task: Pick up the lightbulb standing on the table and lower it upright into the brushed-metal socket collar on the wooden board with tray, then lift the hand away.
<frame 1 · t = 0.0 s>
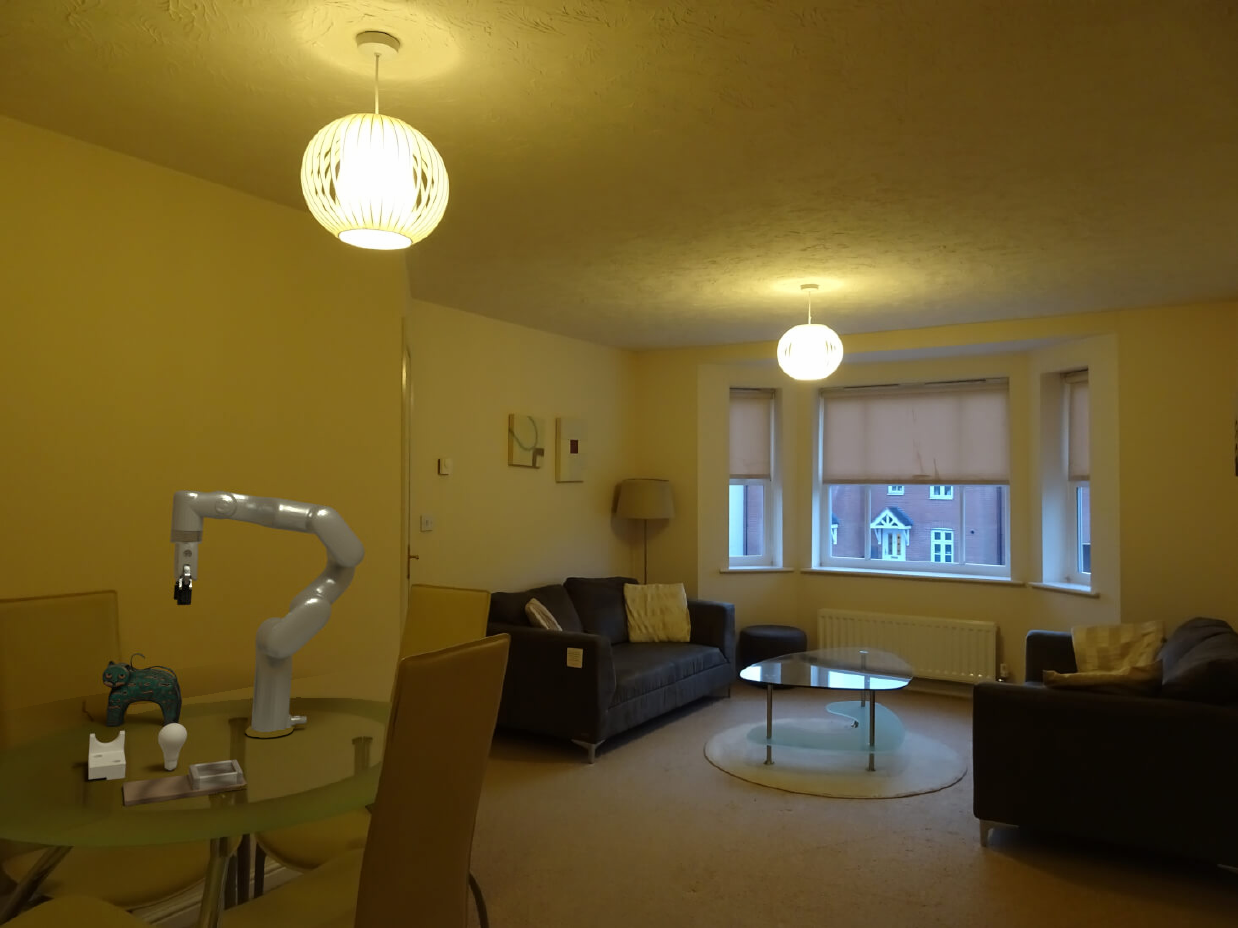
hand: (182, 602, 219), 37 cm above the table, tool pointing down, fingers open, 9 cm apart
bracket: (105, 773, 196), on the table
ceramic cat: (141, 725, 231), on the table
wooden board with tray: (185, 788, 188), on the table
lightbulb: (170, 770, 198), on the table
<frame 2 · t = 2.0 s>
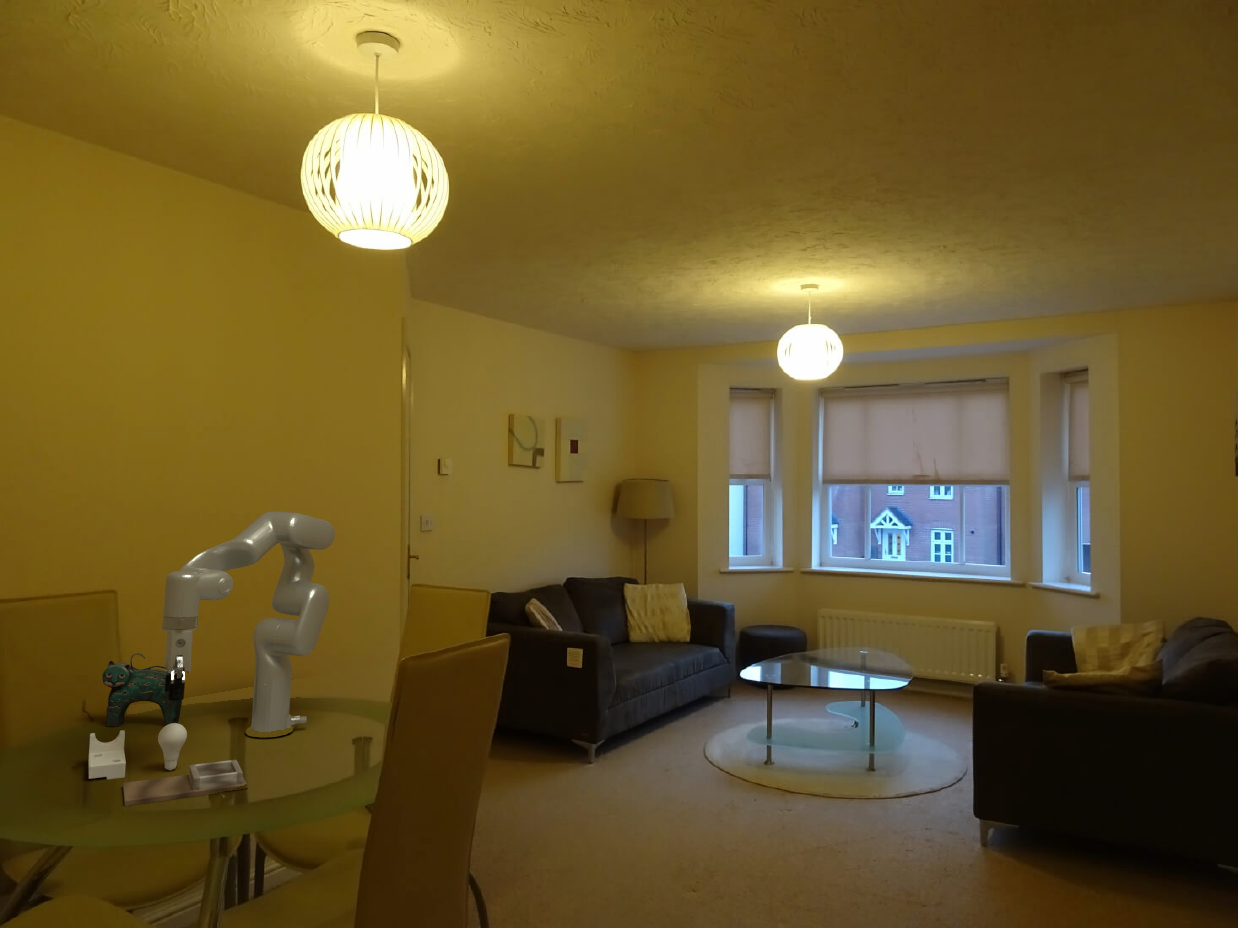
hand: (173, 695, 198), 18 cm above the table, tool pointing down, fingers open, 9 cm apart
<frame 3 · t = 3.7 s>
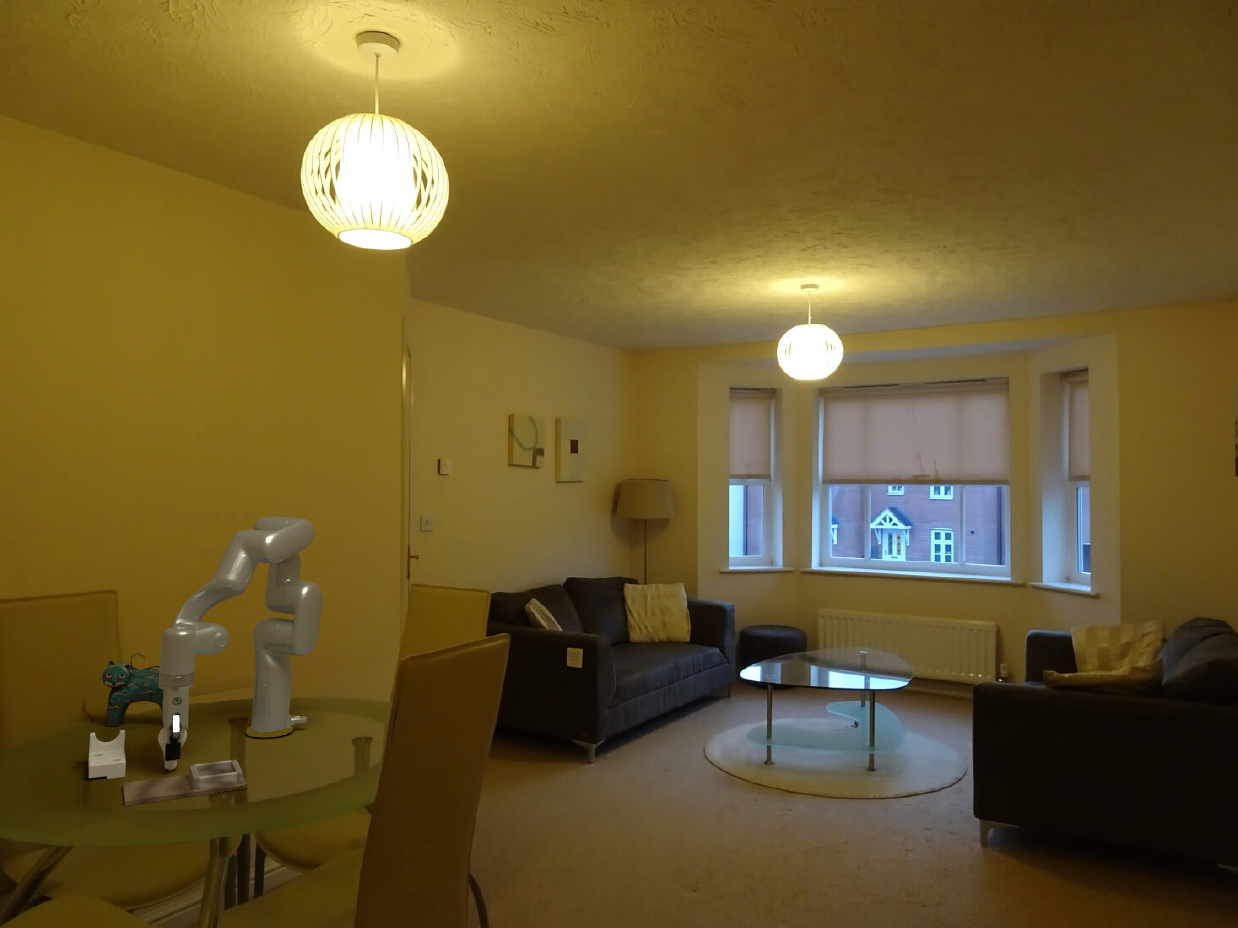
hand: (171, 755, 198), 3 cm above the table, tool pointing down, fingers closed on lightbulb, 5 cm apart
lightbulb: (170, 770, 198), on the table, touching gripper
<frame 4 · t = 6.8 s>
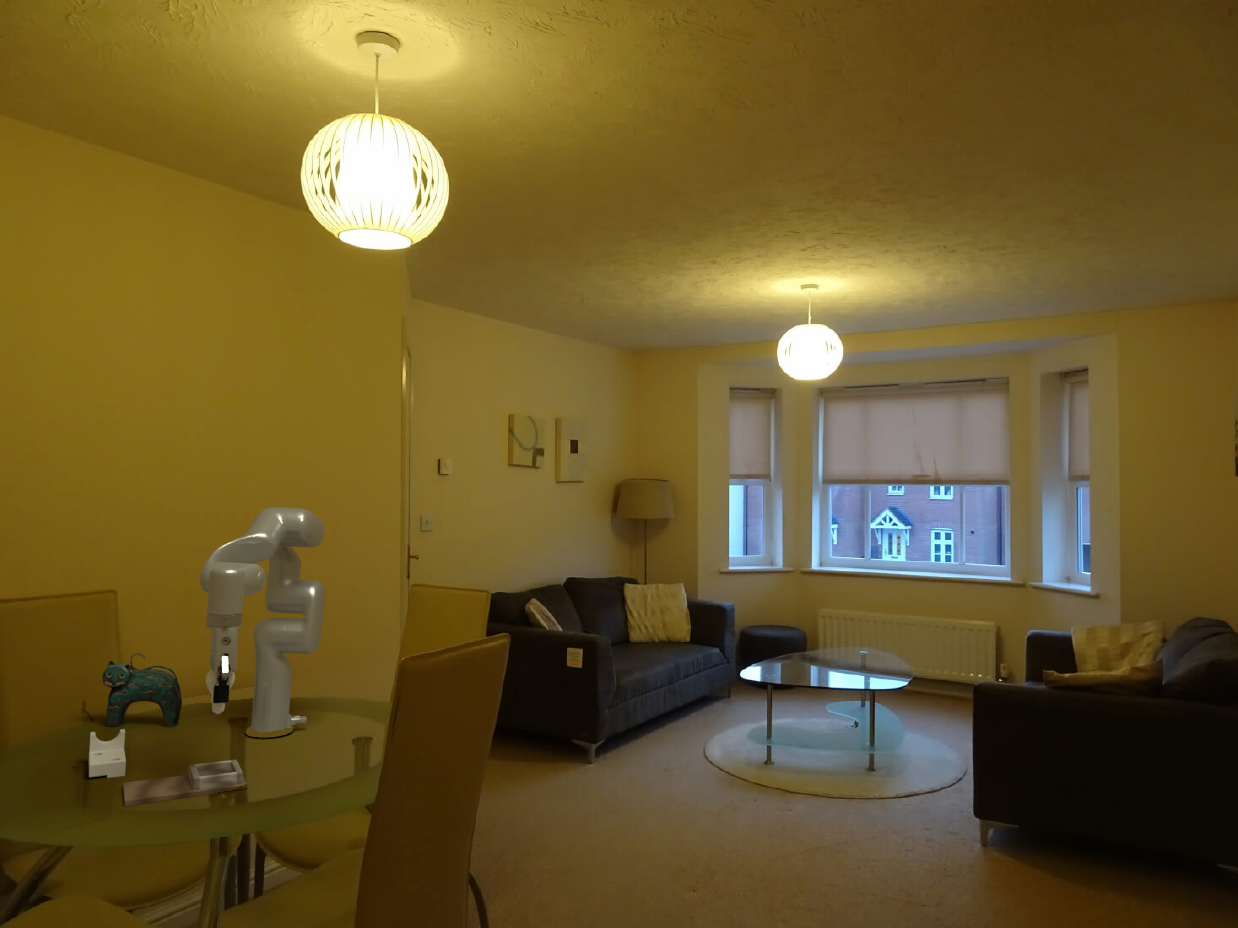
hand: (219, 698, 192), 19 cm above the table, tool pointing down, fingers closed on lightbulb, 5 cm apart
lightbulb: (217, 714, 191), point 16 cm above the table, touching gripper
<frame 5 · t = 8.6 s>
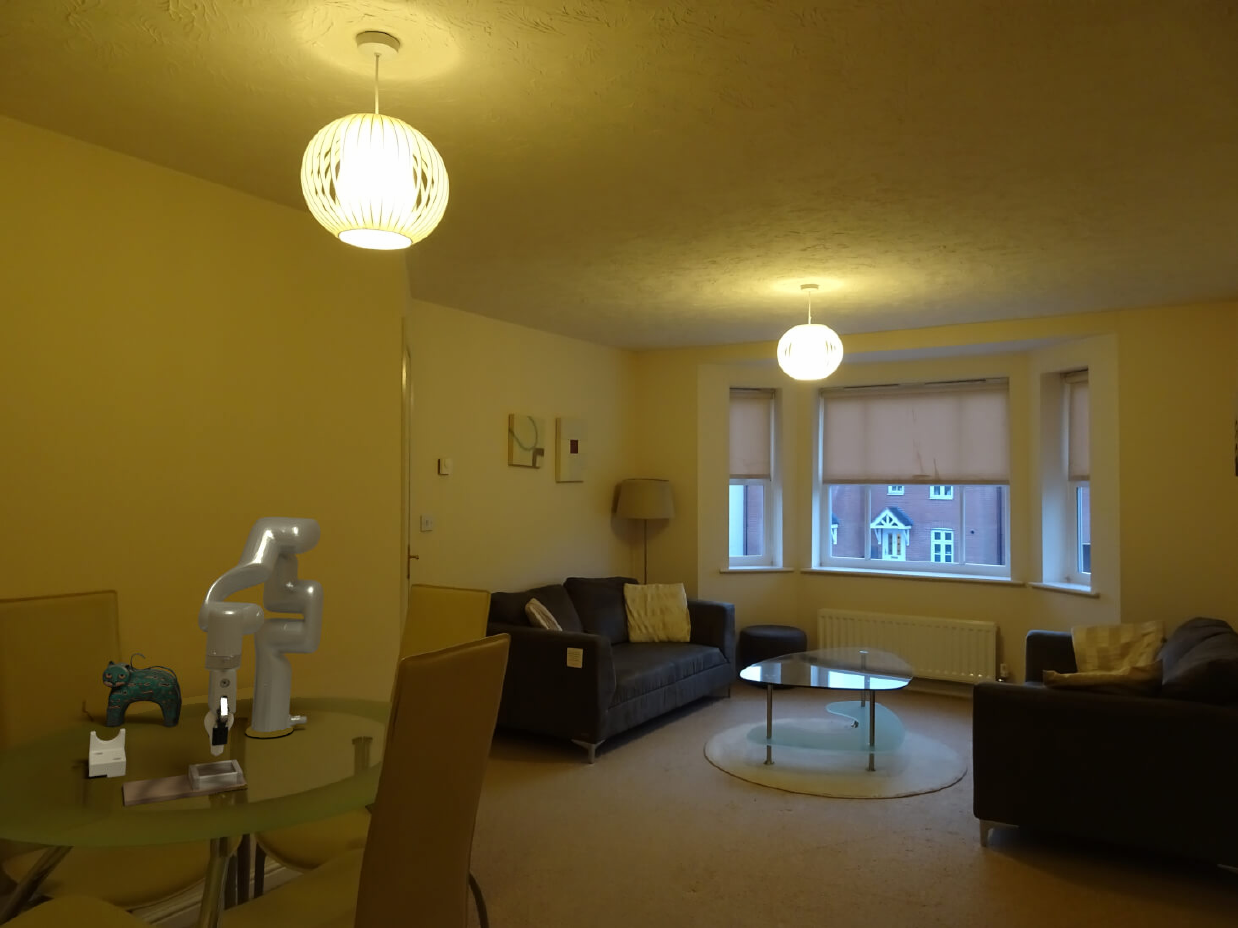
hand: (217, 740, 191), 10 cm above the table, tool pointing down, fingers closed on lightbulb, 5 cm apart
lightbulb: (216, 756, 191), point 6 cm above the table, touching gripper
when the fingers open (5 cm above the table, at t = 10.0 s): lightbulb moves 2 cm, resting on wooden board with tray.
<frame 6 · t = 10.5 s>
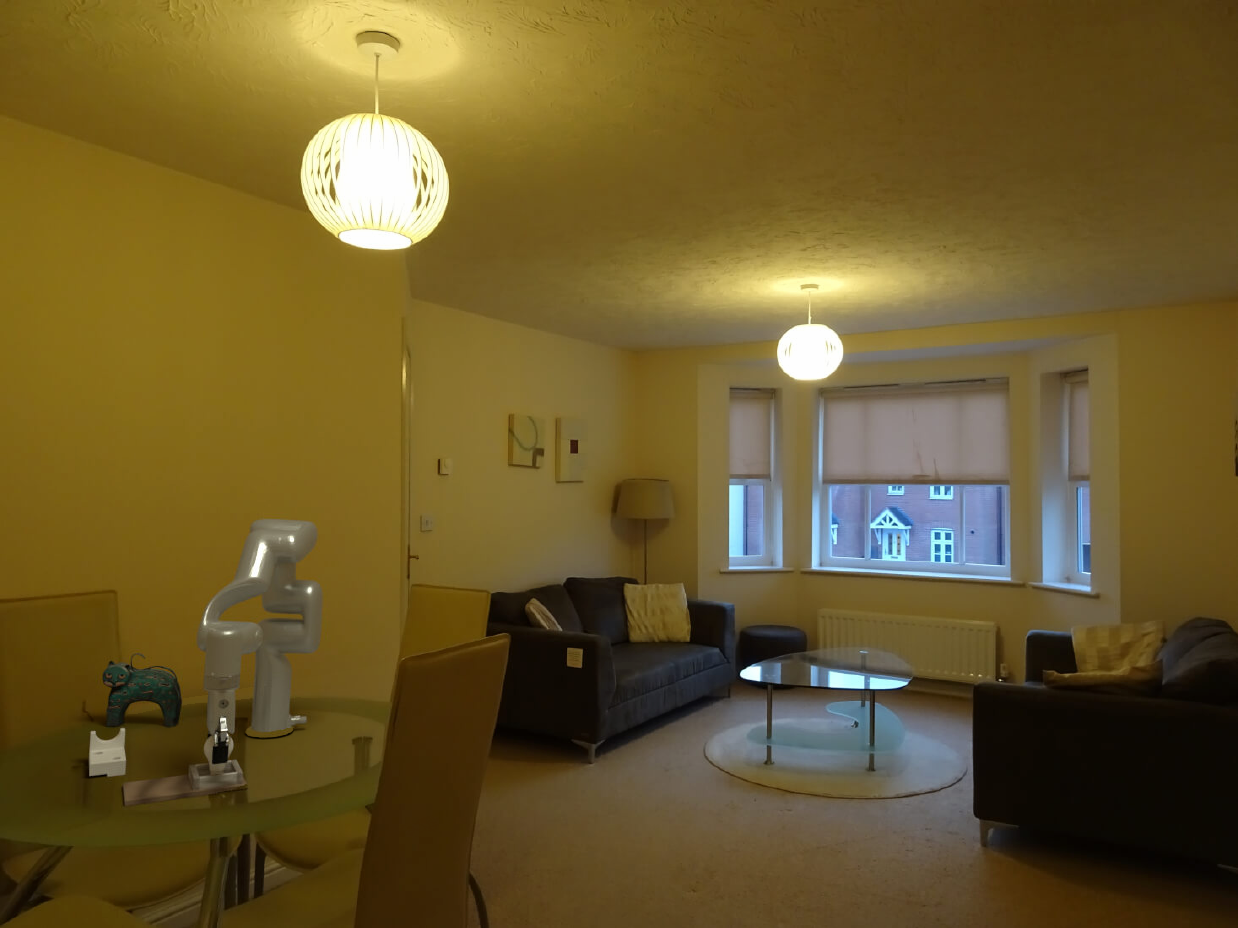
hand: (216, 756, 191), 6 cm above the table, tool pointing down, fingers open, 9 cm apart
lightbulb: (216, 782, 190), point 1 cm above the table, touching gripper, wooden board with tray
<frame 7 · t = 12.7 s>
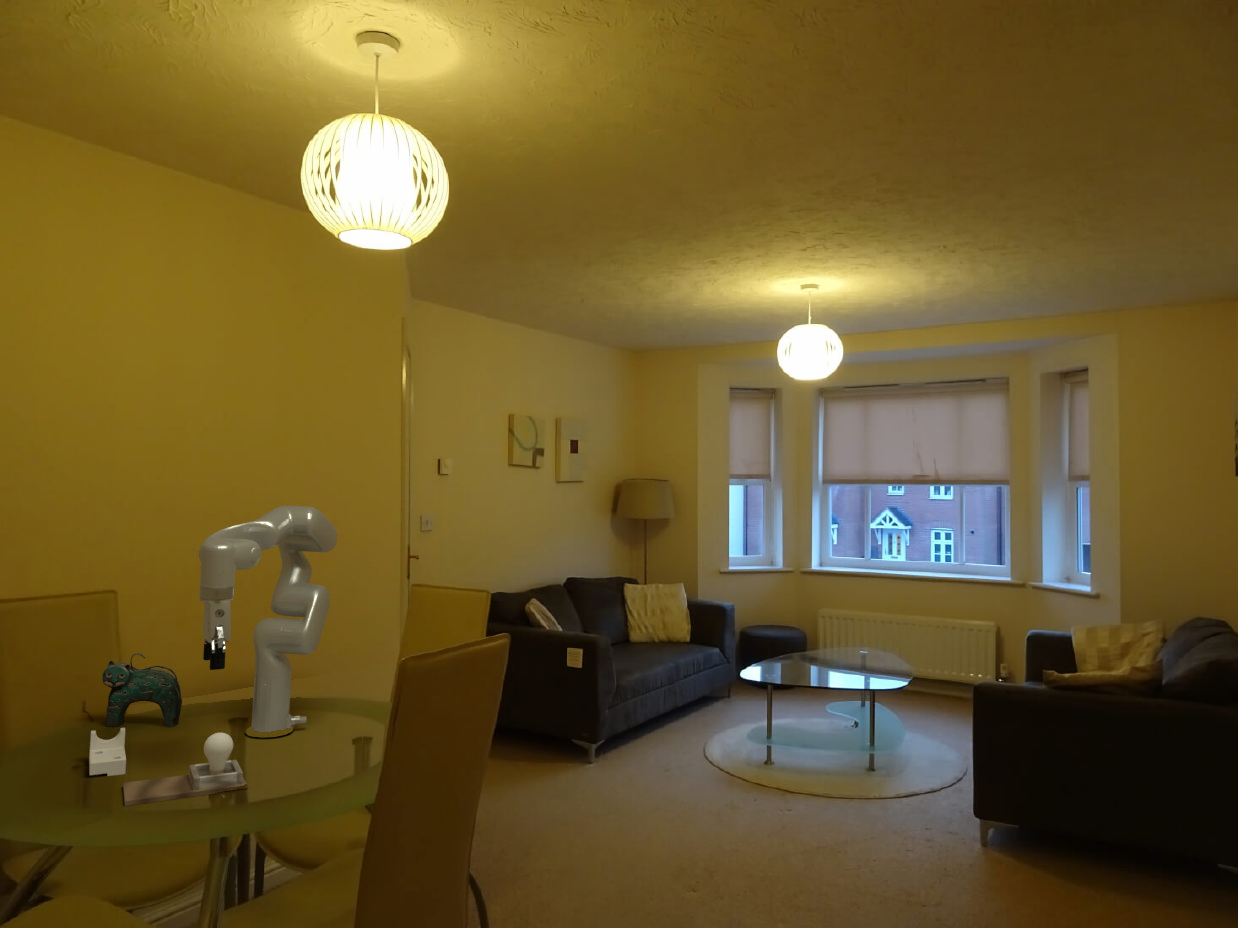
hand: (213, 664, 201), 25 cm above the table, tool pointing down, fingers open, 9 cm apart
lightbulb: (216, 782, 190), point 1 cm above the table, touching wooden board with tray
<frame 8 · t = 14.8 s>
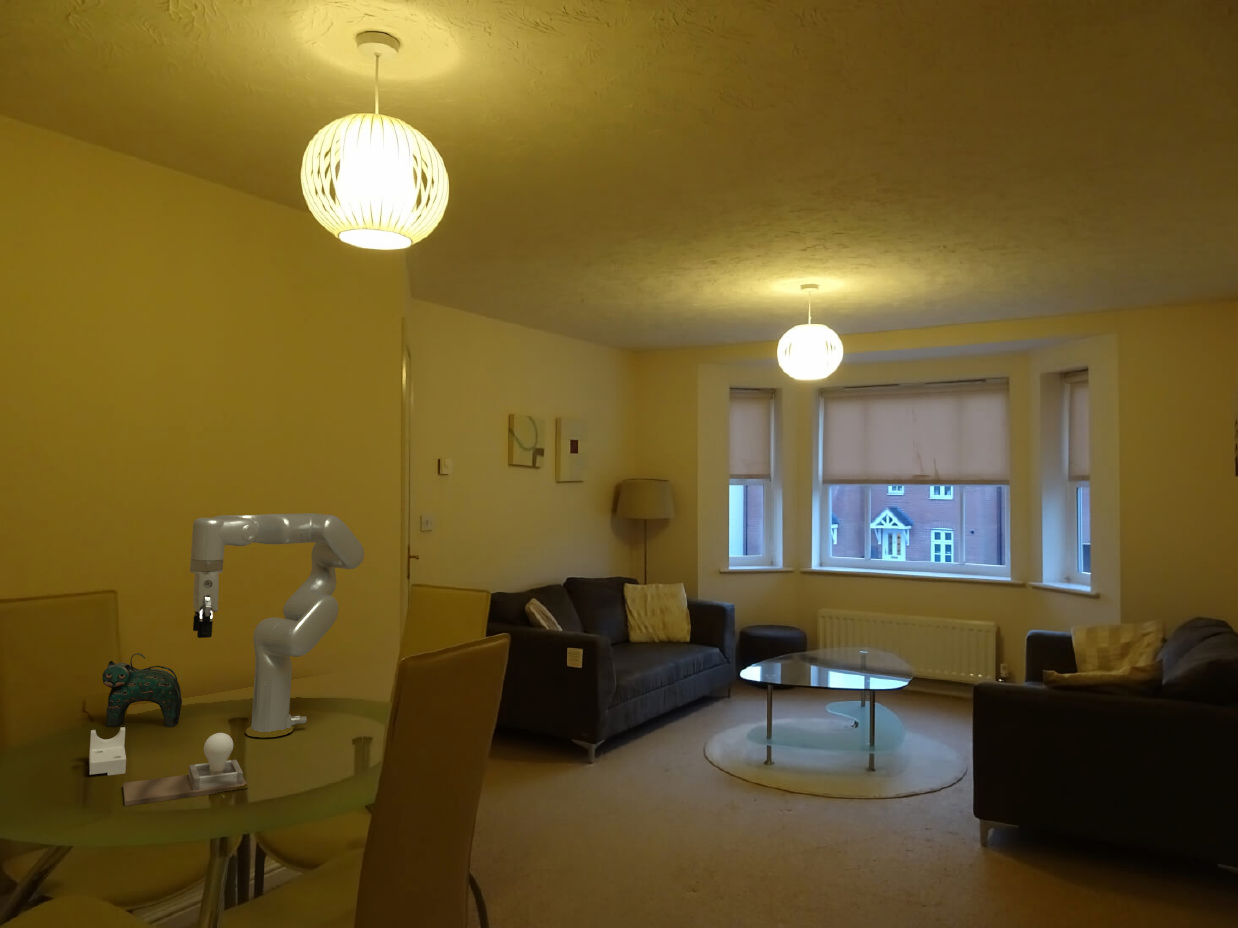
hand: (202, 633, 211), 30 cm above the table, tool pointing down, fingers open, 9 cm apart
at the end: lightbulb 1.4 cm from the target spot on the wooden board with tray, point 0.8 cm above the wooden board with tray's base; lightbulb tilted 0°; the gripper is holding nothing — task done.
